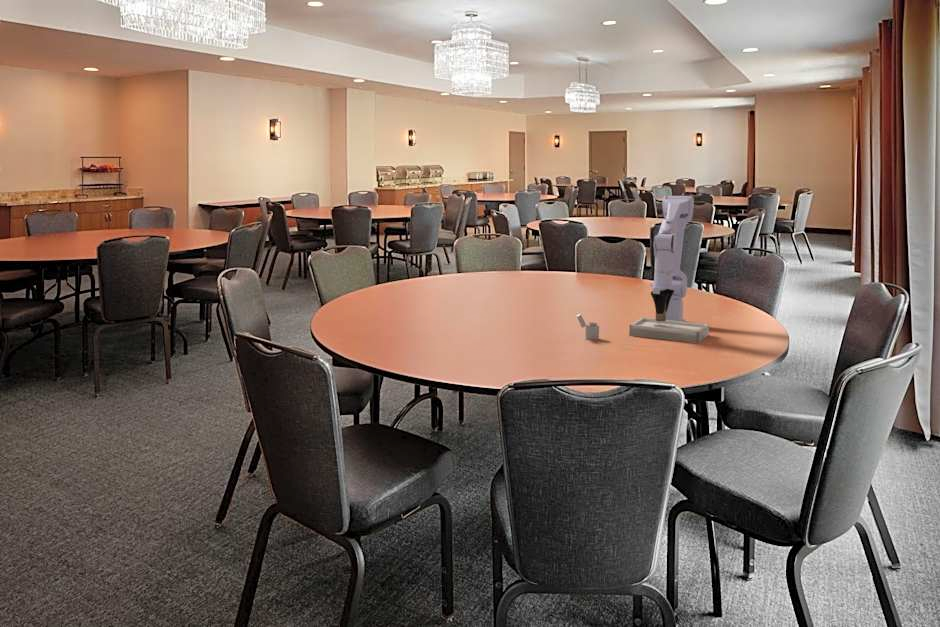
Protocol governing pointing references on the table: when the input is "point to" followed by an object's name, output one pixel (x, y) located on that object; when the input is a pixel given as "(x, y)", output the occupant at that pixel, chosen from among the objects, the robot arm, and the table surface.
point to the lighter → (590, 328)
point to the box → (669, 330)
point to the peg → (661, 316)
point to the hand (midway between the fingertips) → (661, 312)
